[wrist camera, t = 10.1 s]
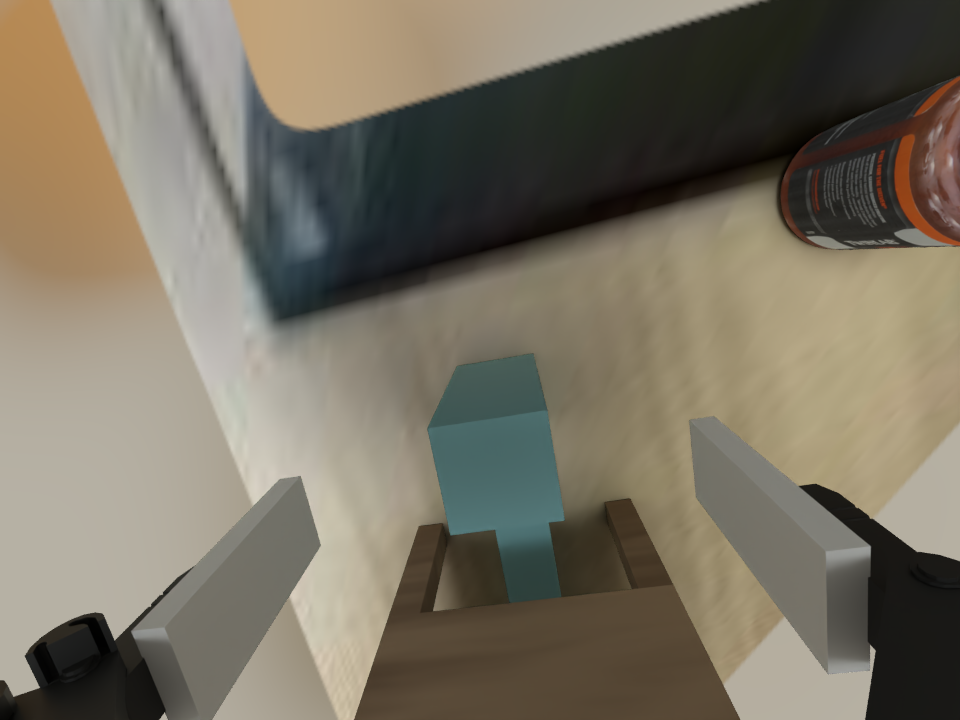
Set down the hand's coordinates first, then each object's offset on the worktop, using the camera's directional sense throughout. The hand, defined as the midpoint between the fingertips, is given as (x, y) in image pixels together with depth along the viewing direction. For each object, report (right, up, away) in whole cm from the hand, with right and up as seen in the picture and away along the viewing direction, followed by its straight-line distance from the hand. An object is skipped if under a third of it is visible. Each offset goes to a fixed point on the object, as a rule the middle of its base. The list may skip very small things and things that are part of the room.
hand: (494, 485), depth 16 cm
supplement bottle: (+18, +13, +8) cm, 23 cm away
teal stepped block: (+2, -7, +13) cm, 15 cm away
